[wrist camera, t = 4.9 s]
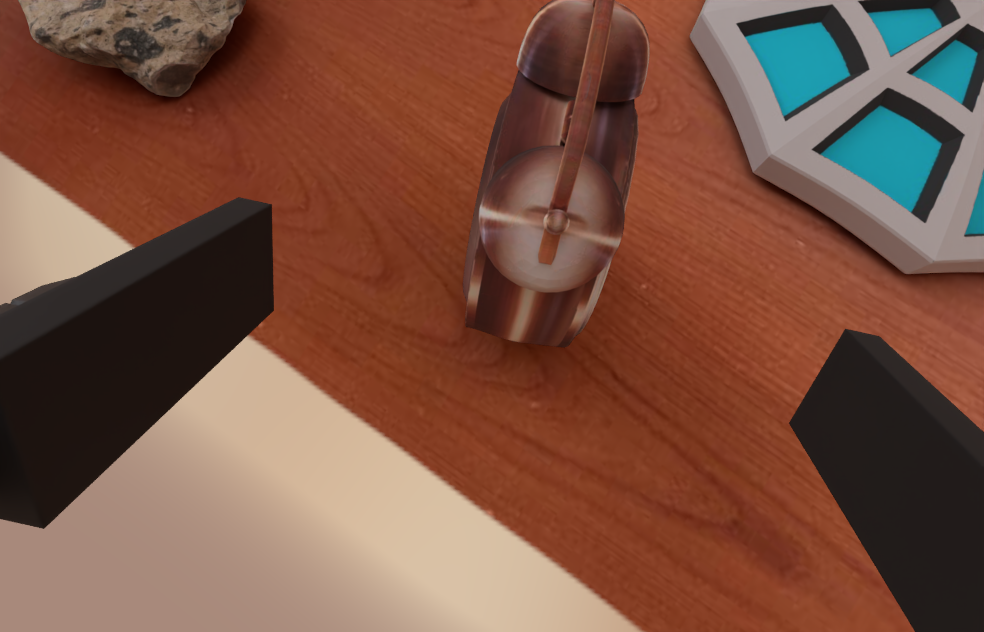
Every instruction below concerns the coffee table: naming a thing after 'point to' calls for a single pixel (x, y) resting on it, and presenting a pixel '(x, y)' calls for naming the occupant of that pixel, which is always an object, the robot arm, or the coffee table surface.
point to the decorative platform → (863, 115)
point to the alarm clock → (557, 174)
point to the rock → (136, 35)
